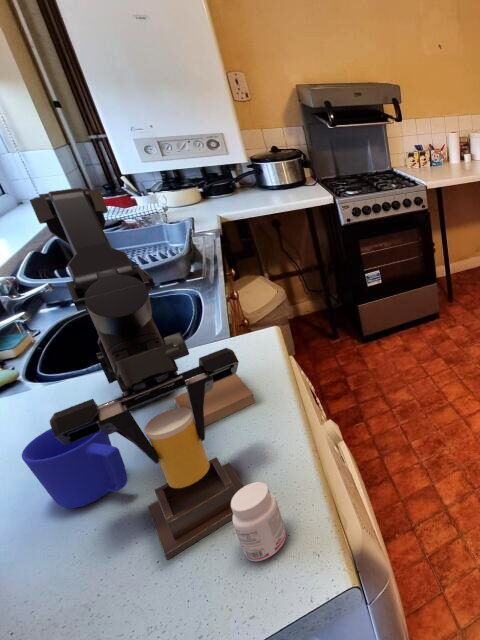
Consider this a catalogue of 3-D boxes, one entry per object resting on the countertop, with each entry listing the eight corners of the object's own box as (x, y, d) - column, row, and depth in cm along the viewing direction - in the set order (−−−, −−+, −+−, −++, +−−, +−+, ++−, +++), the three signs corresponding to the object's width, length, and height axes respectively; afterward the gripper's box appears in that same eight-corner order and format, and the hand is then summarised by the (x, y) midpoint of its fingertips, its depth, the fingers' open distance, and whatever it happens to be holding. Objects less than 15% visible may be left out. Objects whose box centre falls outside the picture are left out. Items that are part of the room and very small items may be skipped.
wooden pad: (176, 406, 80) (173, 397, 79) (237, 380, 87) (234, 371, 86) (191, 432, 74) (188, 423, 73) (255, 402, 81) (252, 393, 80)
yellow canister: (163, 475, 58) (140, 421, 55) (204, 453, 61) (186, 402, 58) (172, 496, 55) (149, 440, 52) (215, 472, 58) (196, 419, 55)
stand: (149, 511, 60) (140, 490, 59) (230, 466, 67) (223, 446, 65) (167, 560, 54) (156, 538, 52) (254, 505, 61) (247, 484, 59)
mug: (105, 526, 58) (76, 470, 54) (36, 511, 60) (3, 456, 57) (162, 476, 66) (140, 423, 62) (99, 464, 68) (74, 412, 64)
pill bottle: (276, 519, 59) (262, 472, 55) (293, 540, 56) (279, 492, 53) (238, 546, 55) (220, 498, 52) (253, 571, 52) (236, 521, 49)
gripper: (16, 356, 46) (67, 492, 43) (215, 295, 59) (265, 397, 56) (42, 386, 54) (87, 502, 51) (213, 326, 67) (257, 417, 64)
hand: (181, 451), depth 55 cm, fingers closed on yellow canister, 4 cm apart
